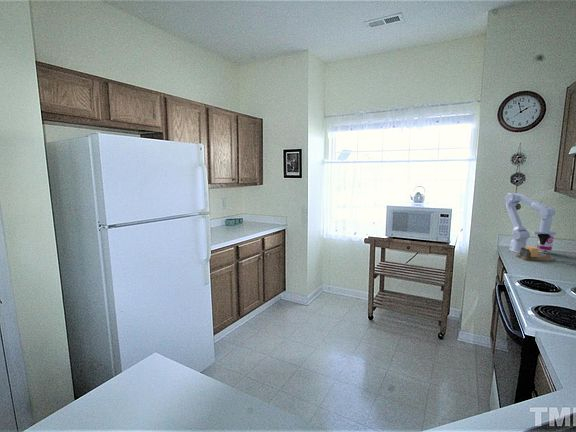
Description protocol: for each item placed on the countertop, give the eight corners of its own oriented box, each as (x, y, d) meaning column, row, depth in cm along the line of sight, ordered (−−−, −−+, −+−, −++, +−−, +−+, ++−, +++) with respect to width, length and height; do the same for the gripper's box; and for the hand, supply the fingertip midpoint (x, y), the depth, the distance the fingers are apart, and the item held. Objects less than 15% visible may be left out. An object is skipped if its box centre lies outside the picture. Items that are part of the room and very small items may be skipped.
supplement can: (553, 254, 224) (557, 234, 221) (542, 254, 224) (545, 233, 221) (544, 251, 232) (548, 231, 229) (533, 250, 232) (536, 231, 229)
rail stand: (515, 256, 217) (517, 246, 216) (543, 257, 216) (545, 247, 215) (526, 260, 207) (527, 250, 206) (555, 261, 206) (557, 251, 205)
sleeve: (524, 254, 214) (526, 246, 213) (531, 254, 214) (532, 246, 213) (530, 256, 209) (532, 248, 208) (537, 257, 209) (539, 248, 208)
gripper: (538, 226, 207) (535, 245, 209) (561, 226, 206) (557, 246, 209) (531, 224, 214) (528, 243, 216) (552, 224, 213) (549, 243, 216)
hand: (542, 244), depth 213 cm, fingers closed
